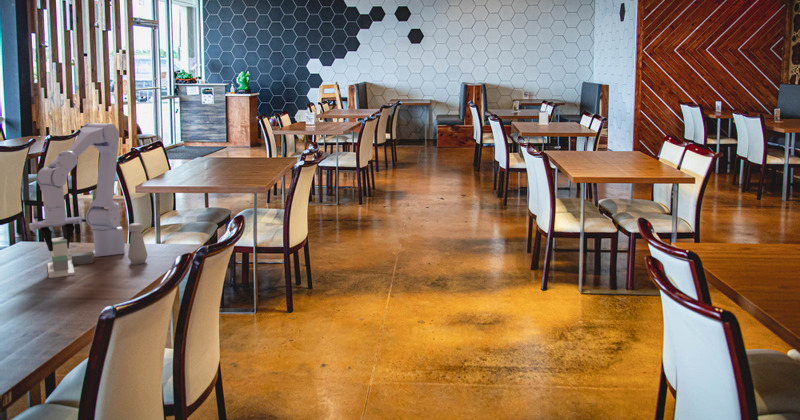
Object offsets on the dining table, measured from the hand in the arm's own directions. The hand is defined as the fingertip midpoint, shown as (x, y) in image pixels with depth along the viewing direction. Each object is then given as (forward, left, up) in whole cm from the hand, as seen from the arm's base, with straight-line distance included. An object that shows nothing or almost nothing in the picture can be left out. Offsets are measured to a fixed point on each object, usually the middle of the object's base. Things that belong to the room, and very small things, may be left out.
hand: (58, 249), depth 209 cm
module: (0, 0, -2) cm, 2 cm away
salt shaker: (-23, +2, -7) cm, 24 cm away
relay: (-7, -7, -7) cm, 12 cm away
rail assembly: (0, 0, -7) cm, 7 cm away
